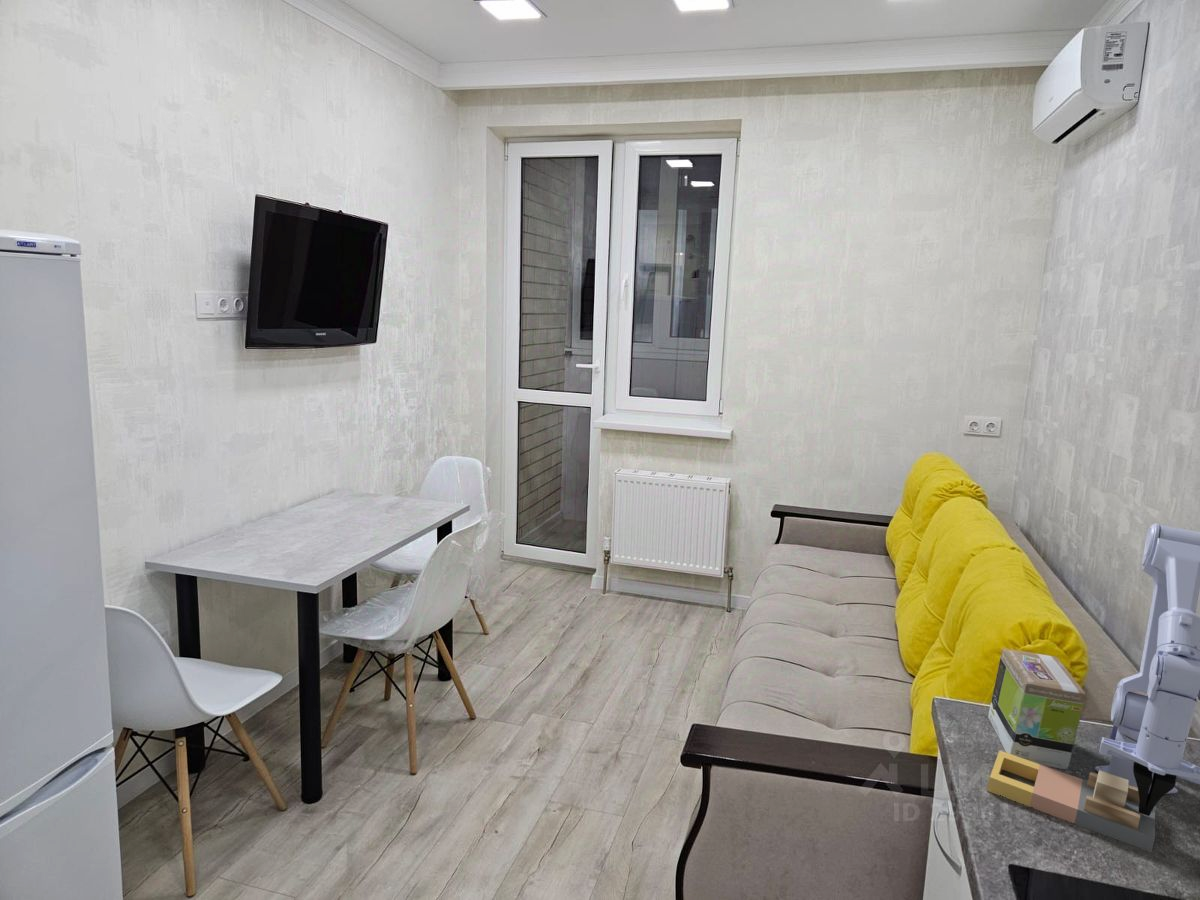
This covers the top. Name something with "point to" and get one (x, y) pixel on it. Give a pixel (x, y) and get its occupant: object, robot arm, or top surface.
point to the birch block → (1111, 789)
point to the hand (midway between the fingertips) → (1144, 811)
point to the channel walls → (1113, 806)
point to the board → (1064, 798)
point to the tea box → (1036, 708)
